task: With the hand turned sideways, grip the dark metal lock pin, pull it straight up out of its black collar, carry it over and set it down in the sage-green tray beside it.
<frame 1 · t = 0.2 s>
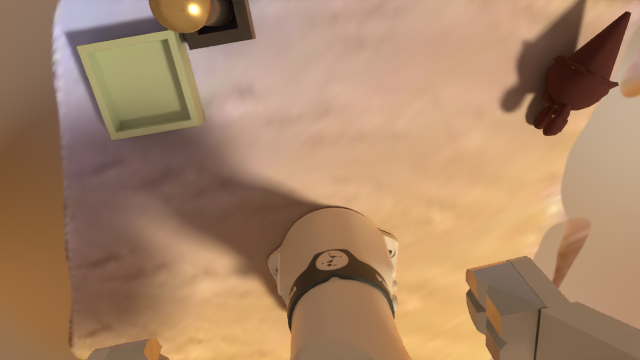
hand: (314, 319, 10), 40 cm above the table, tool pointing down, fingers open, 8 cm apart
lock pin: (202, 7, 36), in the pin collar
tray: (150, 84, 46), on the table
pin collar: (218, 11, 43), on the table
icecream: (562, 73, 48), on the table
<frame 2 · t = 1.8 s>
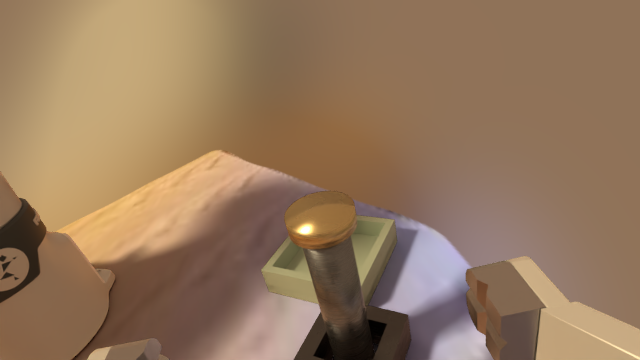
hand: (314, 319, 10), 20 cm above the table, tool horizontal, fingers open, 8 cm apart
lock pin: (340, 297, 27), in the pin collar
tray: (335, 265, 41), on the table
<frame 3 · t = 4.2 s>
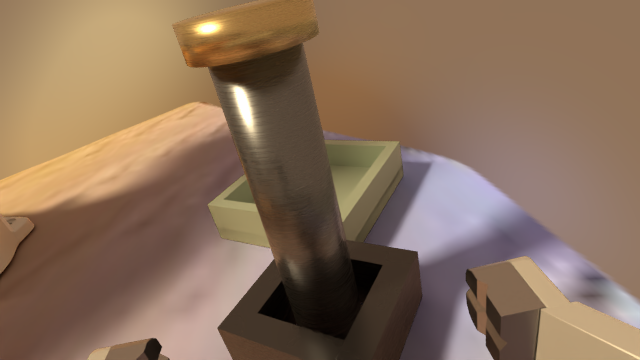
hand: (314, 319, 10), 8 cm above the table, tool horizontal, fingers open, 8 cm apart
lock pin: (298, 207, 16), in the pin collar
tray: (316, 205, 30), on the table
pin collar: (333, 331, 19), on the table
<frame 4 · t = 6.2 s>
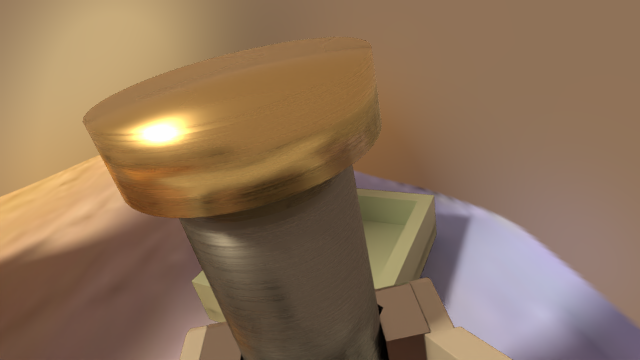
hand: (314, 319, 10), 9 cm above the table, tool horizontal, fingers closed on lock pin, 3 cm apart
tray: (329, 274, 24), on the table
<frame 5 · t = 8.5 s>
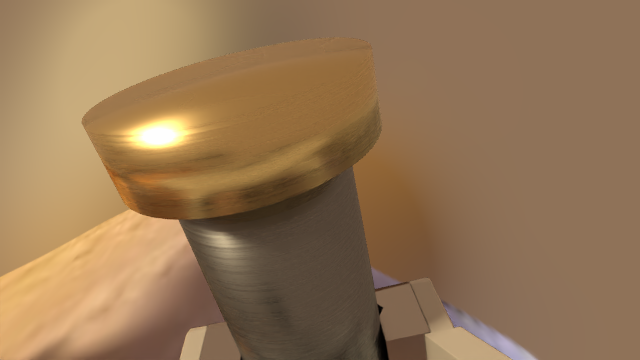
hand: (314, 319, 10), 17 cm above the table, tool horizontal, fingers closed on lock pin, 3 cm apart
when the fingers open (11 cm above the table, at t = 10.9 s): lock pin drops 1 cm, resting on tray.
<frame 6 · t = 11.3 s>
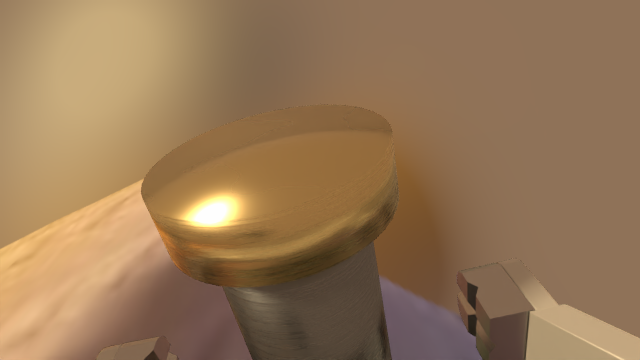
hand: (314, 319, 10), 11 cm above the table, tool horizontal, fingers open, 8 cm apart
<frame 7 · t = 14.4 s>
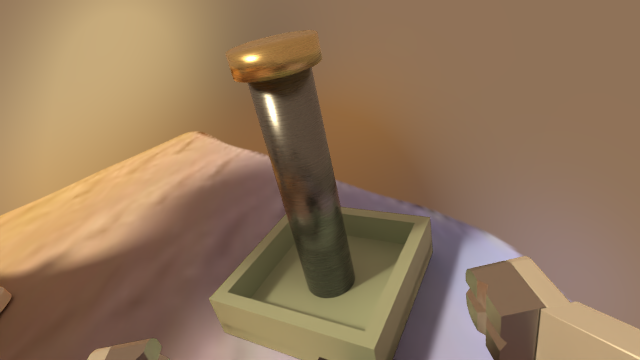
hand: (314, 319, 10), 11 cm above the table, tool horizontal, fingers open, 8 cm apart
lock pin: (306, 180, 22), in the tray, point 9 cm above the table
tray: (333, 290, 26), on the table
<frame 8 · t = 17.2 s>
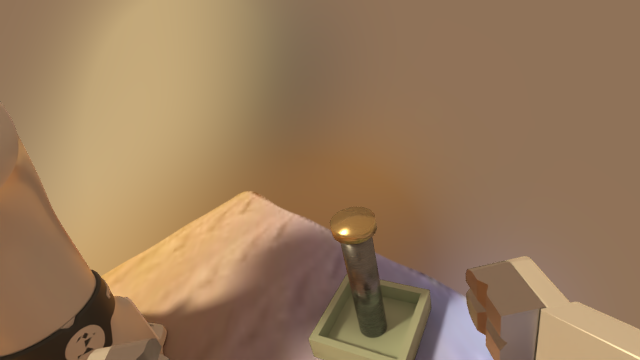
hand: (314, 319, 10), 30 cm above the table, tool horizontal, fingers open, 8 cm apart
lock pin: (363, 277, 41), in the tray, point 9 cm above the table
tray: (374, 331, 45), on the table
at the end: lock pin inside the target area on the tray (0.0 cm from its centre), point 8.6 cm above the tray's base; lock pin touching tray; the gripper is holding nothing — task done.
